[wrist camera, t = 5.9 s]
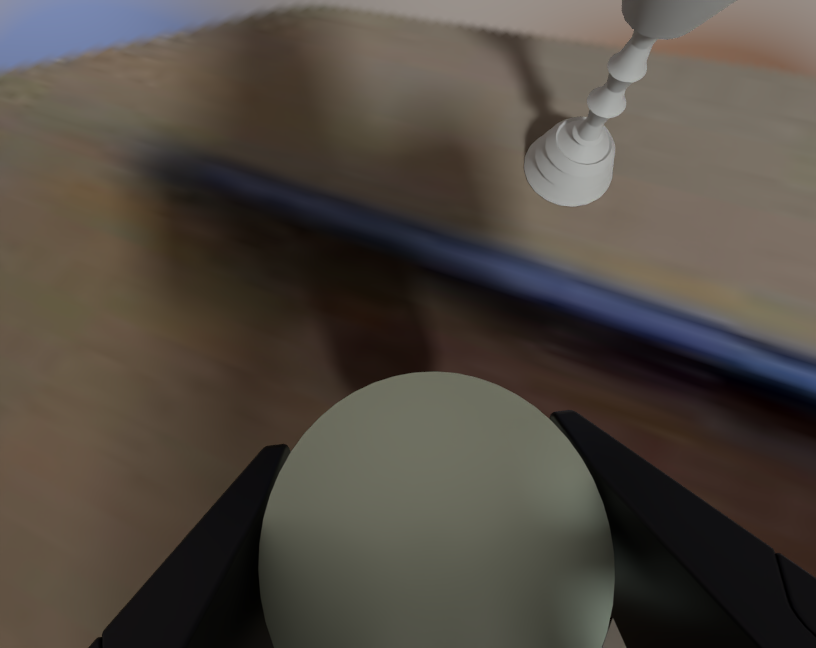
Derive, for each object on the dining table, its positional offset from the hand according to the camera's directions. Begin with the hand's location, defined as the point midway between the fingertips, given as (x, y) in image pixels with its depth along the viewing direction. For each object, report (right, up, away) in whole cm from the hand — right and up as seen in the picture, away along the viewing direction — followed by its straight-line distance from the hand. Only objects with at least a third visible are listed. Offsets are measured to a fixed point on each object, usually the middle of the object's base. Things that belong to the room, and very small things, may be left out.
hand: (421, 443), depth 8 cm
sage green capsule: (0, -3, +7) cm, 7 cm away
